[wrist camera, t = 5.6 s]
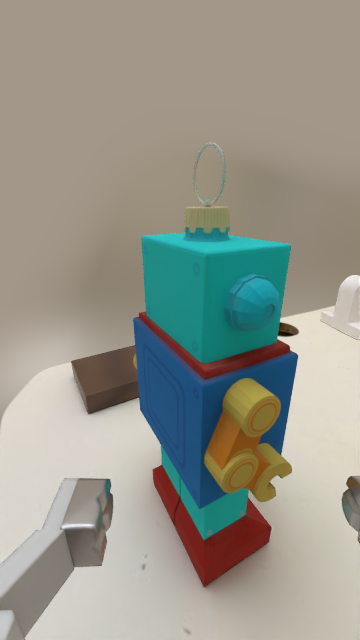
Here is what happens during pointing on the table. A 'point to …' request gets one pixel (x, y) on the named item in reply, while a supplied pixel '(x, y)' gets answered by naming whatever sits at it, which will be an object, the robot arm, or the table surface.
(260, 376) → the toy robot
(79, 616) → the table surface
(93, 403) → the brown slab
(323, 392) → the table surface
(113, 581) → the table surface
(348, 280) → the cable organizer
